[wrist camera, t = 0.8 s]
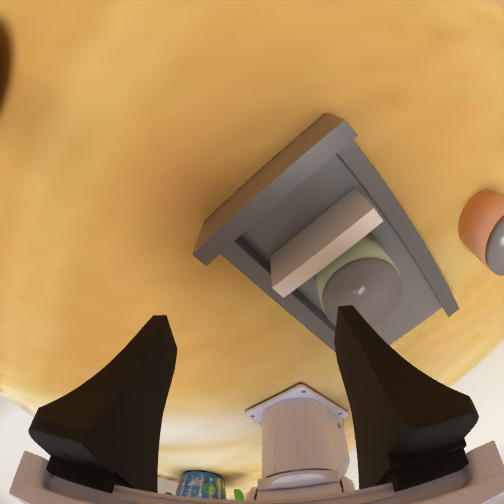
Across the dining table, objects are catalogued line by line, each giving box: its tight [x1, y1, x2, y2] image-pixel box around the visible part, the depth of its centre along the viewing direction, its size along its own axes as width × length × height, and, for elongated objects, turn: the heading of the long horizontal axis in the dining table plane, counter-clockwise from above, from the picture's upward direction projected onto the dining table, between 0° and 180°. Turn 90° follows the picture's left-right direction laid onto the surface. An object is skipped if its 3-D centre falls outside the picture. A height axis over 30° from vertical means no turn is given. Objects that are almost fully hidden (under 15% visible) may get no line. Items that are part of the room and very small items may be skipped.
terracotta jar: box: [459, 190, 504, 276], centre depth 18 cm, size 5×5×4 cm
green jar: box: [314, 232, 403, 327], centre depth 19 cm, size 5×5×4 cm
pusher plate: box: [270, 187, 383, 298], centre depth 18 cm, size 1×7×4 cm, turn 134°
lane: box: [193, 113, 459, 352], centre depth 20 cm, size 19×10×4 cm, turn 44°
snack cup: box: [165, 471, 244, 500], centre depth 39 cm, size 16×10×10 cm
